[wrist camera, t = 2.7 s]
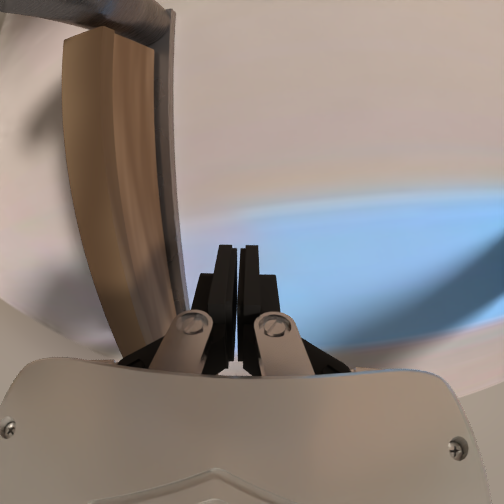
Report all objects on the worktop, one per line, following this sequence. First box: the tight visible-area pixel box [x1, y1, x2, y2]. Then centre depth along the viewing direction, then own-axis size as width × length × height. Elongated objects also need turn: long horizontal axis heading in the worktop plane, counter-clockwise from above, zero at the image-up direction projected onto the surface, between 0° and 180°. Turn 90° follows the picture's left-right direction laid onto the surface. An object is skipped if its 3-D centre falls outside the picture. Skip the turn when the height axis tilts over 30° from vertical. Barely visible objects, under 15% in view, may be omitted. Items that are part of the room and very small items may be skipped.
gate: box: [62, 26, 177, 358], centre depth 14 cm, size 2×20×6 cm, turn 179°
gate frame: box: [0, 0, 190, 315], centre depth 13 cm, size 4×27×12 cm, turn 179°
